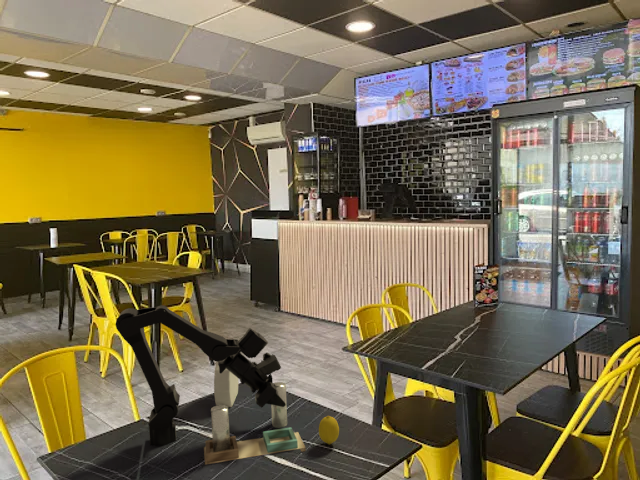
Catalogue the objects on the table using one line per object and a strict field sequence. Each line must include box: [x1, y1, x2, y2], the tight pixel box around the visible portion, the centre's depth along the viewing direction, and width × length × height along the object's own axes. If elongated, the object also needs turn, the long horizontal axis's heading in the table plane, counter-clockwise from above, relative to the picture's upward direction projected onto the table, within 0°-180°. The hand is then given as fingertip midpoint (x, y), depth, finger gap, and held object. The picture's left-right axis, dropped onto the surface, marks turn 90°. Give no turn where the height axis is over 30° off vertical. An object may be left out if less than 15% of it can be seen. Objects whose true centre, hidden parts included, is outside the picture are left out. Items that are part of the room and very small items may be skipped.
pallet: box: [203, 426, 307, 465], centre depth 133 cm, size 26×9×3 cm, turn 105°
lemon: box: [318, 415, 340, 445], centre depth 135 cm, size 6×6×8 cm
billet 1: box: [210, 405, 231, 452], centre depth 130 cm, size 4×4×12 cm
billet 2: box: [270, 381, 288, 429], centre depth 145 cm, size 4×4×12 cm
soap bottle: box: [213, 361, 239, 408], centre depth 166 cm, size 16×5×20 cm, turn 179°
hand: (283, 402), depth 146 cm, fingers closed on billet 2, 4 cm apart
